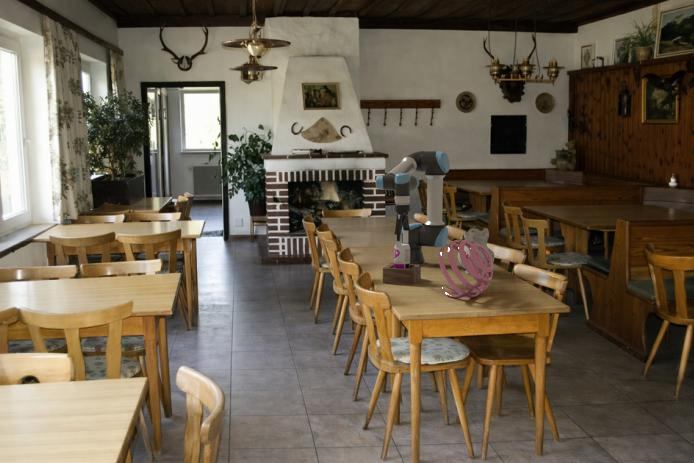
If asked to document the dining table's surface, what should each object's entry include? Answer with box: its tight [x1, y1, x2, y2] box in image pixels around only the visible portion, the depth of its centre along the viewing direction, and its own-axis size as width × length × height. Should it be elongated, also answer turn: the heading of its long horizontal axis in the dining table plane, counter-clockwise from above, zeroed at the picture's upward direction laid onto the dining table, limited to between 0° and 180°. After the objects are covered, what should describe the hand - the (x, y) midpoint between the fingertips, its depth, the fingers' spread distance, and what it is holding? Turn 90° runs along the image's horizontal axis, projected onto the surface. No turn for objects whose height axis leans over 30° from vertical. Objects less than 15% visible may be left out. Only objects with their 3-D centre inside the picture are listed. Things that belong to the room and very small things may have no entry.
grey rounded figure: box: [457, 227, 495, 275], centre depth 411 cm, size 22×20×25 cm
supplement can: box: [393, 243, 410, 269], centre depth 392 cm, size 8×8×15 cm
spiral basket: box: [438, 239, 494, 299], centre depth 357 cm, size 28×28×27 cm
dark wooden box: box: [382, 262, 422, 286], centre depth 393 cm, size 16×16×8 cm
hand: (402, 245), depth 391 cm, fingers open, 13 cm apart
